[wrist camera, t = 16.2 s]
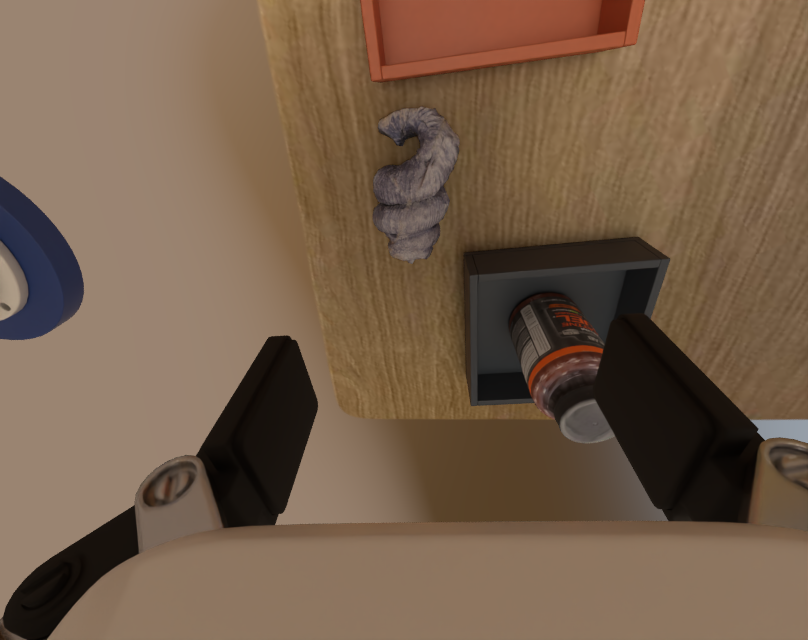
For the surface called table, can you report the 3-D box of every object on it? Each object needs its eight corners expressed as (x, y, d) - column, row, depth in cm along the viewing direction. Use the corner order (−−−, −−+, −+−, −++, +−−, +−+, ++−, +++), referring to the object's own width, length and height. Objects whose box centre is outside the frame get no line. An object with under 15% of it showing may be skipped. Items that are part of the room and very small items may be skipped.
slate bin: (466, 375, 35) (470, 406, 31) (463, 252, 28) (469, 275, 24) (603, 367, 34) (624, 398, 30) (638, 236, 26) (671, 258, 23)
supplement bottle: (591, 299, 29) (675, 402, 19) (555, 352, 32) (611, 462, 23) (525, 281, 28) (578, 377, 19) (495, 337, 31) (527, 444, 22)
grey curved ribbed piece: (407, 102, 23) (409, 243, 29) (348, 108, 20) (363, 266, 26) (477, 104, 20) (464, 260, 26) (421, 112, 17) (420, 289, 23)
